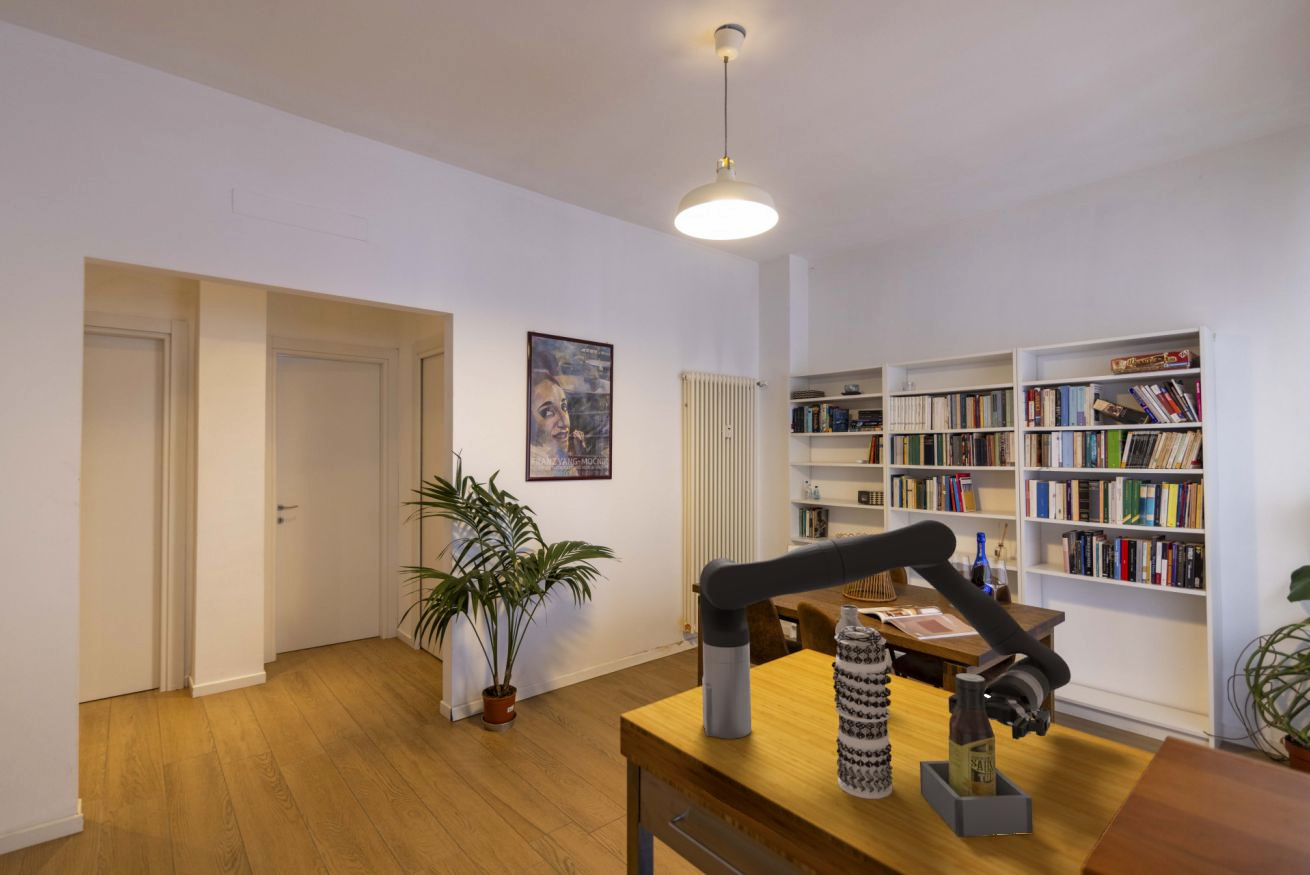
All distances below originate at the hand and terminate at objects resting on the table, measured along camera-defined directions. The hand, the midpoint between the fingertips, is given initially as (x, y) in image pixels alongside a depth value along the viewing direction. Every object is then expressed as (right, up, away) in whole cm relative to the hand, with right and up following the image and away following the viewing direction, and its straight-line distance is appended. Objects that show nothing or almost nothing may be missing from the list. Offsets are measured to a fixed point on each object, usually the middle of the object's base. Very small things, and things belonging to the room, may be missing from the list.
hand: (984, 724), depth 99 cm
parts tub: (-4, -11, -5) cm, 13 cm away
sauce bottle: (-4, -11, -5) cm, 13 cm away
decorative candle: (-18, -12, +3) cm, 21 cm away
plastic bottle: (-8, -13, +42) cm, 44 cm away
